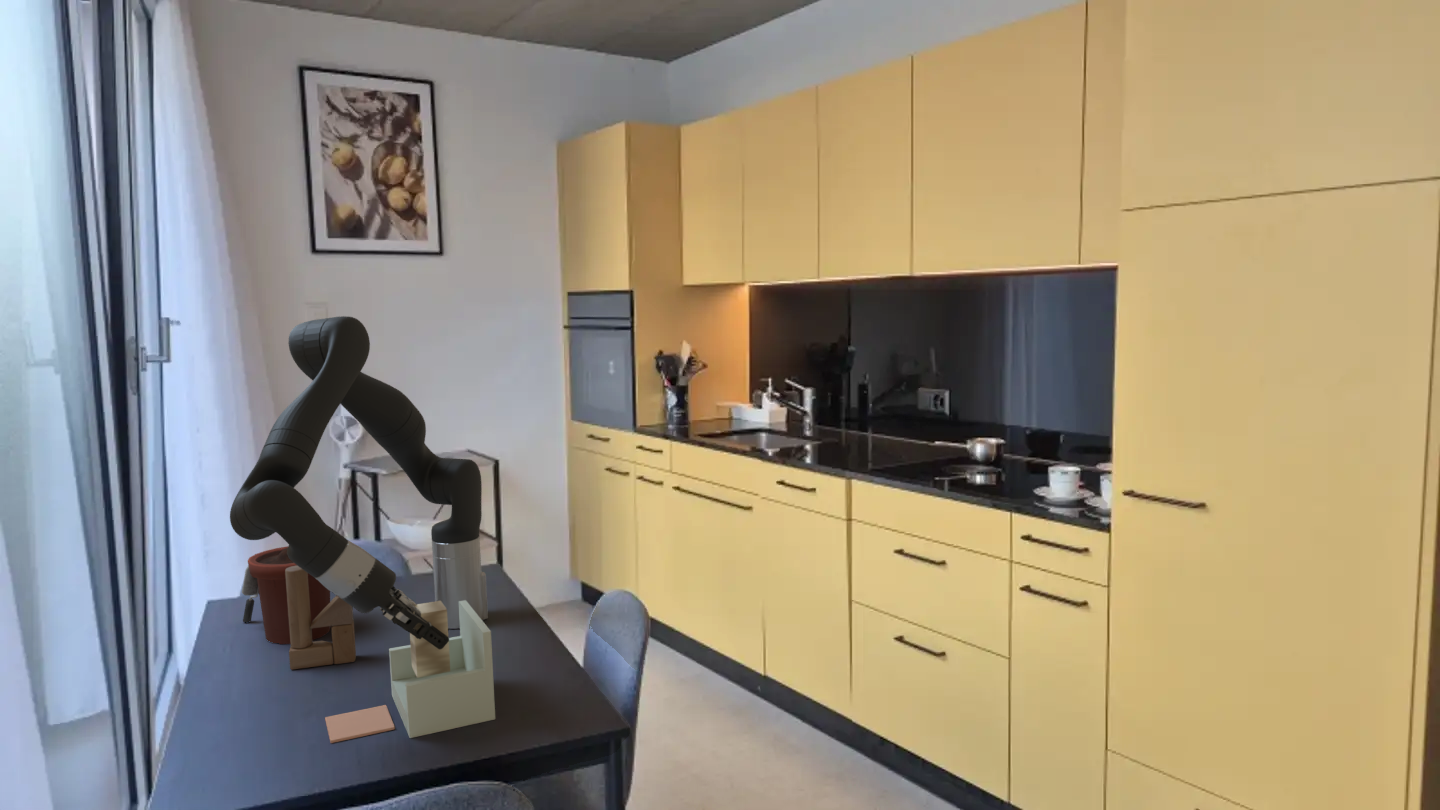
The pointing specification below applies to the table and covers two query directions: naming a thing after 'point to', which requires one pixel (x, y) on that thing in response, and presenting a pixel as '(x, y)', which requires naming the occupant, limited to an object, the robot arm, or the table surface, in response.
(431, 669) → the birch block
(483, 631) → the cubby
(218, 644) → the table surface
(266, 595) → the potted plant
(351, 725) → the mat
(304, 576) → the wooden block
